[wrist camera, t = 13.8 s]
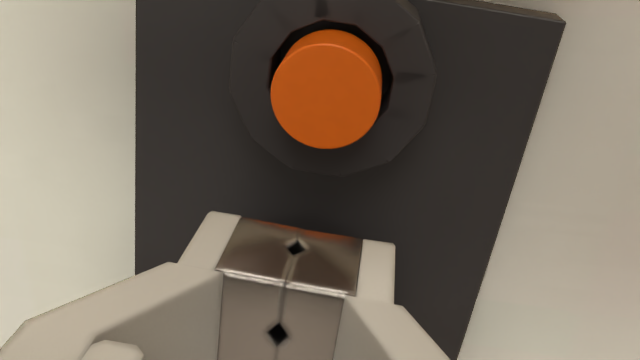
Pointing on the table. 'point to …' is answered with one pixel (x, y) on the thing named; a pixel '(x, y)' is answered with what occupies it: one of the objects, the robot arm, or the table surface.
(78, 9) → the table surface
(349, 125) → the button
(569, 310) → the table surface
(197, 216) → the button base
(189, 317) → the robot arm
